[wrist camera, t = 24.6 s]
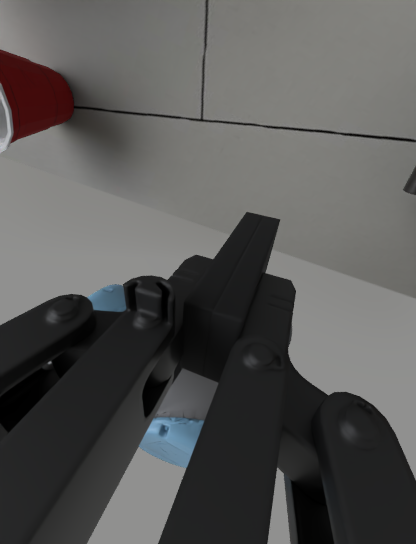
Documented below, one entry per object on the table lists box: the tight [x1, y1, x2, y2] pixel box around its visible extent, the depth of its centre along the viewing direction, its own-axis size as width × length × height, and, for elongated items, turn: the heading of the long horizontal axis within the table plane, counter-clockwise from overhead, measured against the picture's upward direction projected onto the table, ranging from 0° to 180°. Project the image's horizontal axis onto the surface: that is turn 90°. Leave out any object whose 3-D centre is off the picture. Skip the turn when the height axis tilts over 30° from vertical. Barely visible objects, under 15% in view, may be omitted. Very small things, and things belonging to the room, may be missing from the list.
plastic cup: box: [0, 50, 74, 153], centre depth 29 cm, size 11×11×12 cm
